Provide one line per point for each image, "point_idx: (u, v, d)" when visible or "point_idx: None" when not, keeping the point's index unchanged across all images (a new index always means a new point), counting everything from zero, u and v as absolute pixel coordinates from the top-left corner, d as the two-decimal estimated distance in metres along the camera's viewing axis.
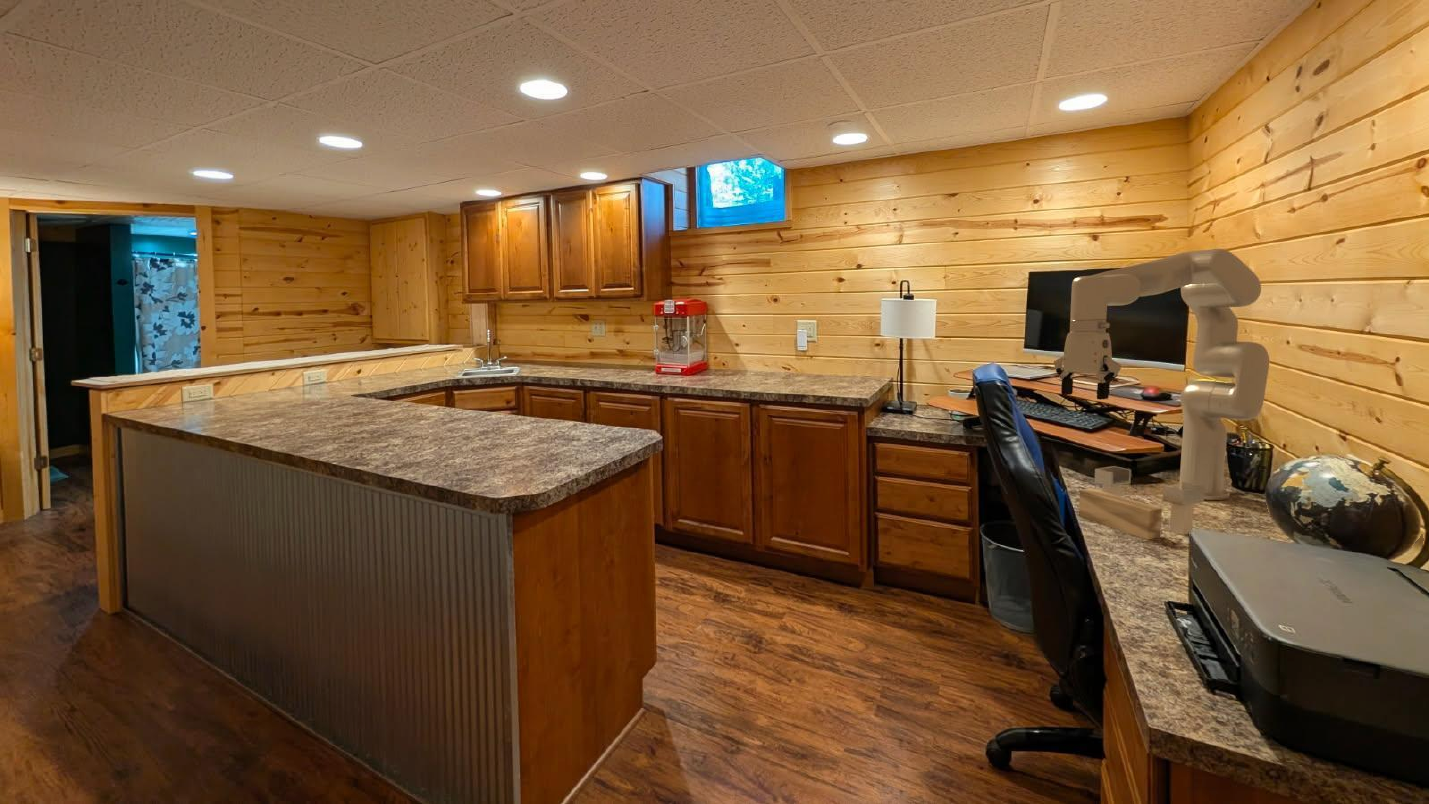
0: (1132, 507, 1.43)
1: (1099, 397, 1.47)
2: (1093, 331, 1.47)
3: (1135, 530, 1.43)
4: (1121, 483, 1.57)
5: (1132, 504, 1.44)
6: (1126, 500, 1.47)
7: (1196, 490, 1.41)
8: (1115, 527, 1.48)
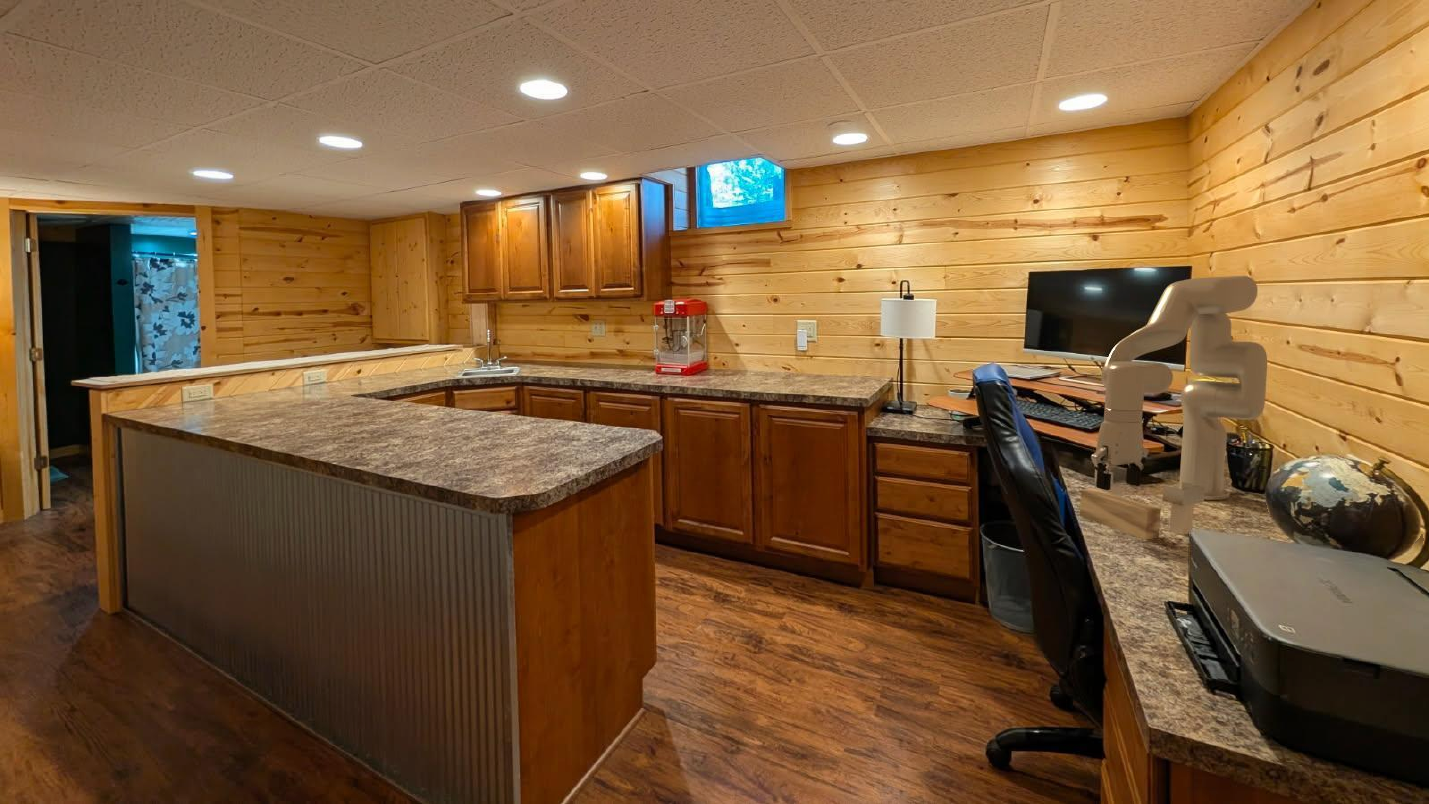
0: (1131, 507, 1.43)
1: None
2: None
3: (1133, 530, 1.43)
4: (1121, 483, 1.57)
5: (1131, 504, 1.44)
6: (1126, 500, 1.47)
7: (1196, 490, 1.41)
8: (1114, 527, 1.48)
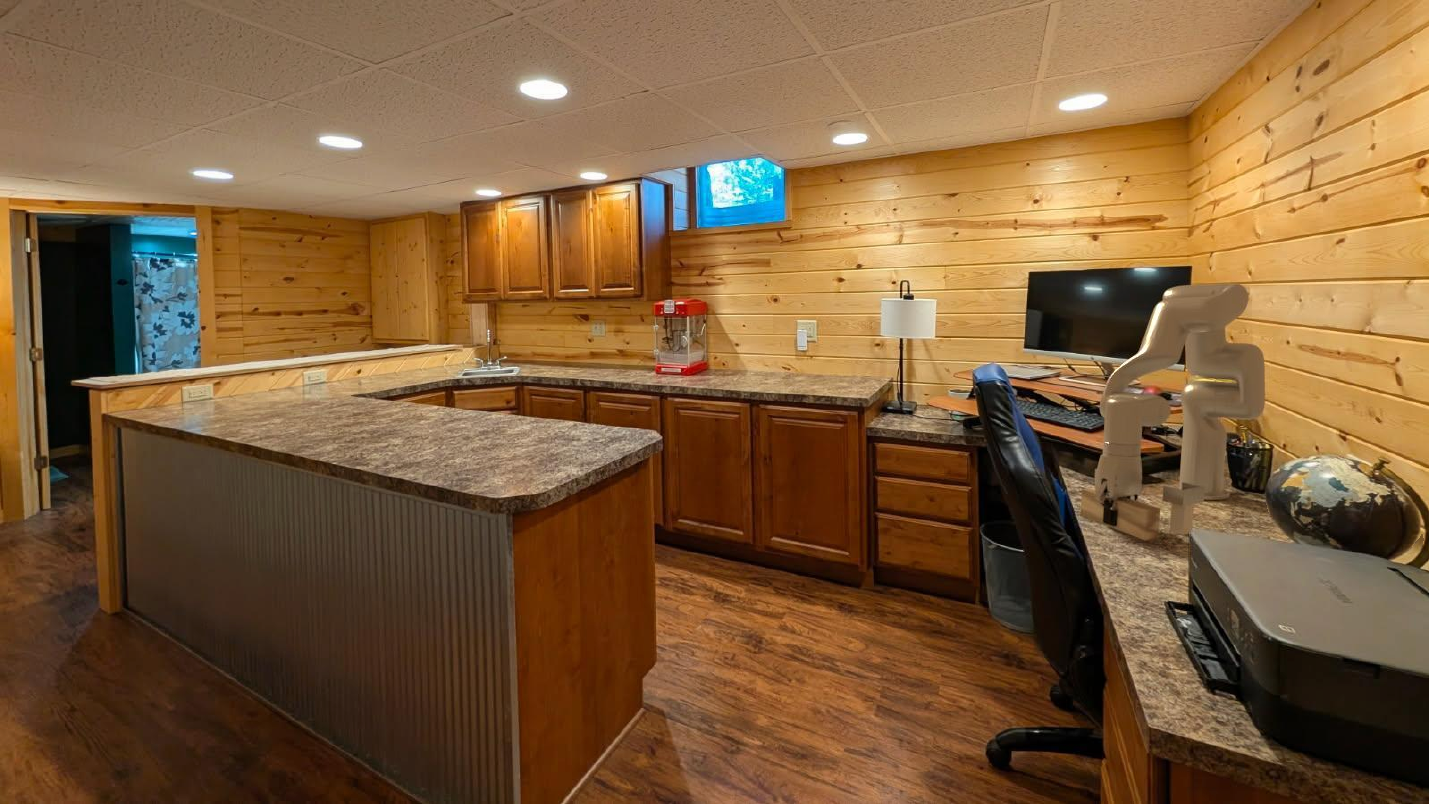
0: (1130, 506, 1.43)
1: None
2: None
3: (1133, 529, 1.43)
4: None
5: (1131, 504, 1.44)
6: (1126, 500, 1.47)
7: (1196, 490, 1.41)
8: (1114, 526, 1.48)
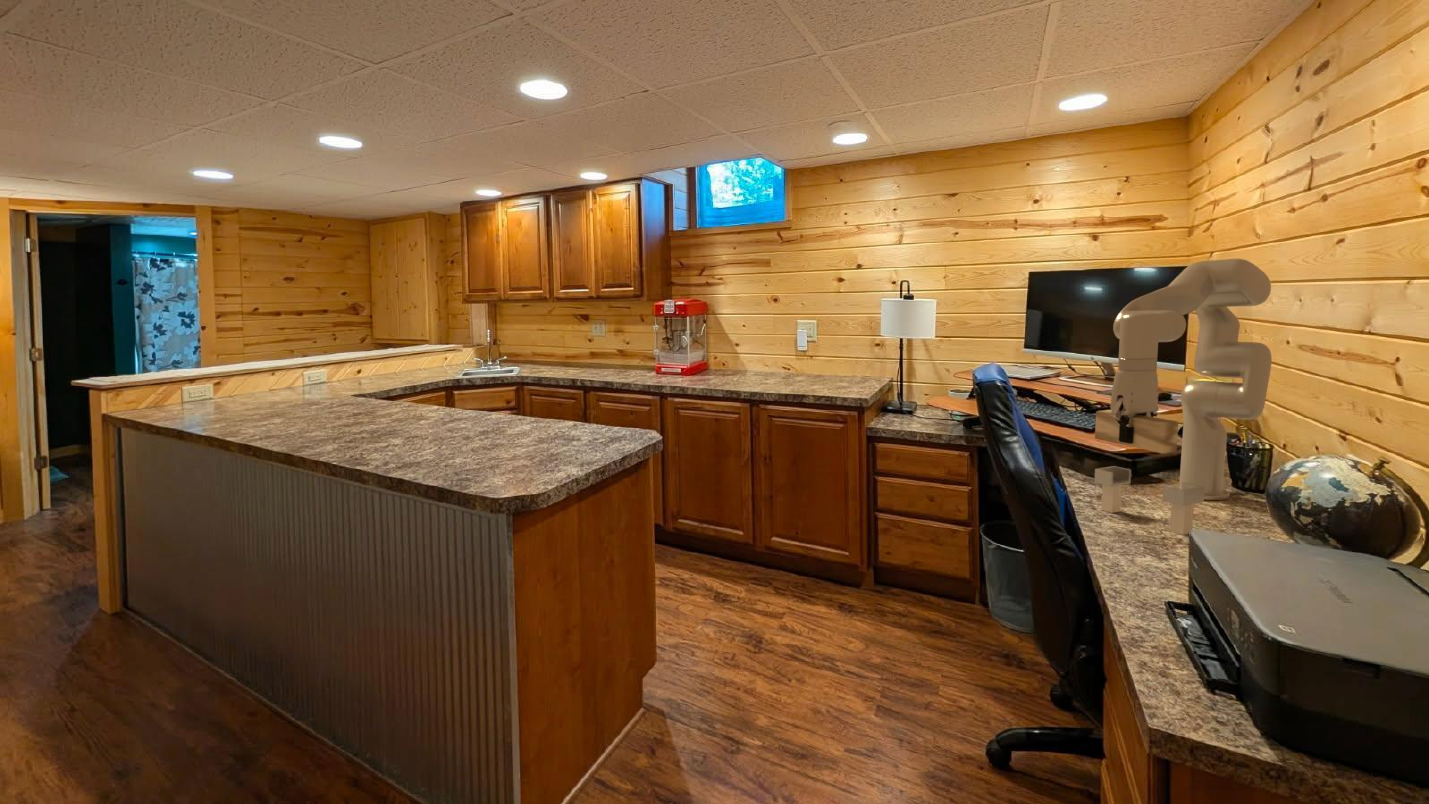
0: (1148, 421, 1.41)
1: None
2: None
3: (1150, 444, 1.41)
4: (1121, 483, 1.57)
5: (1148, 419, 1.42)
6: (1142, 416, 1.45)
7: (1196, 490, 1.41)
8: (1131, 444, 1.46)
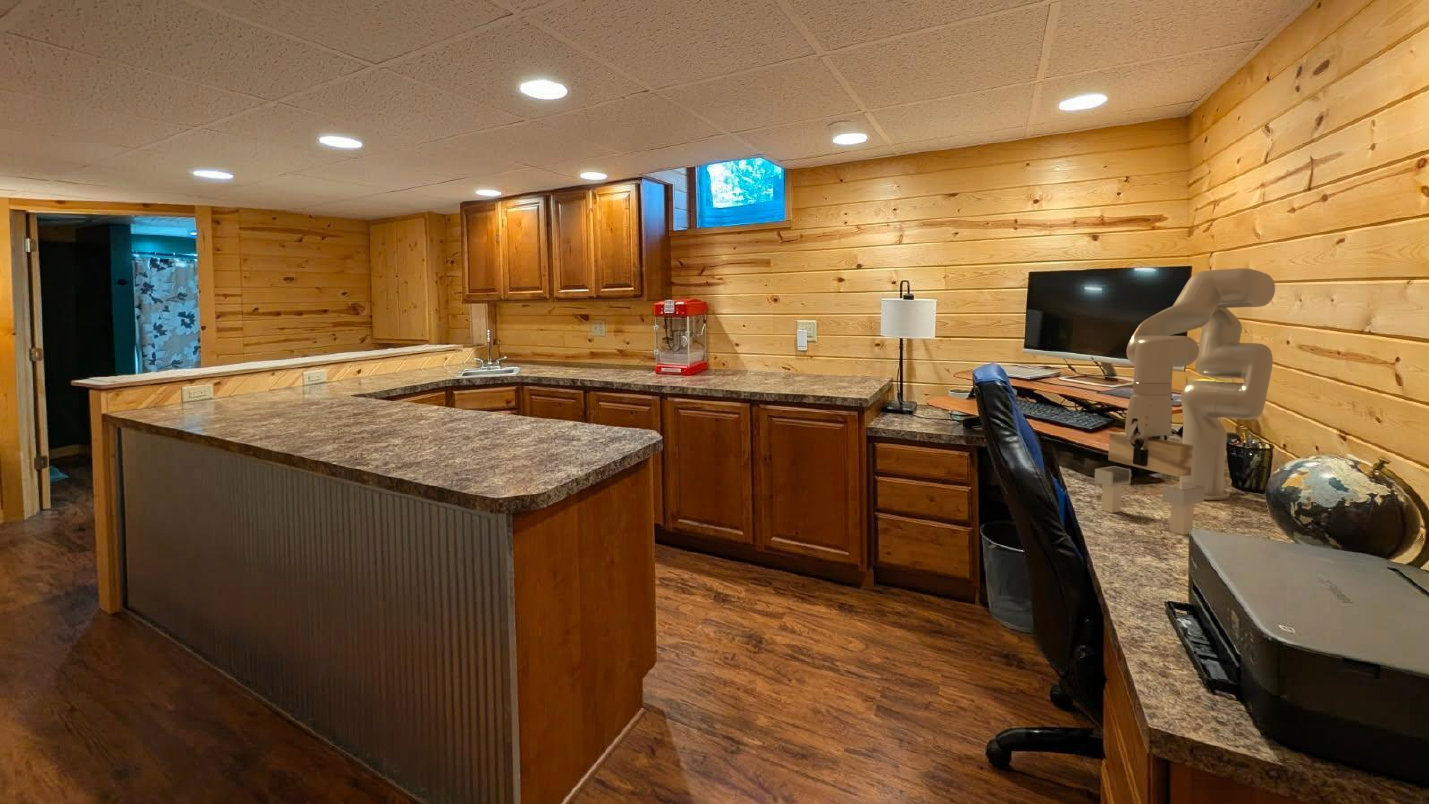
0: (1163, 444, 1.44)
1: None
2: None
3: (1165, 468, 1.44)
4: (1121, 483, 1.57)
5: (1163, 442, 1.45)
6: (1157, 440, 1.48)
7: (1196, 490, 1.41)
8: (1145, 467, 1.48)
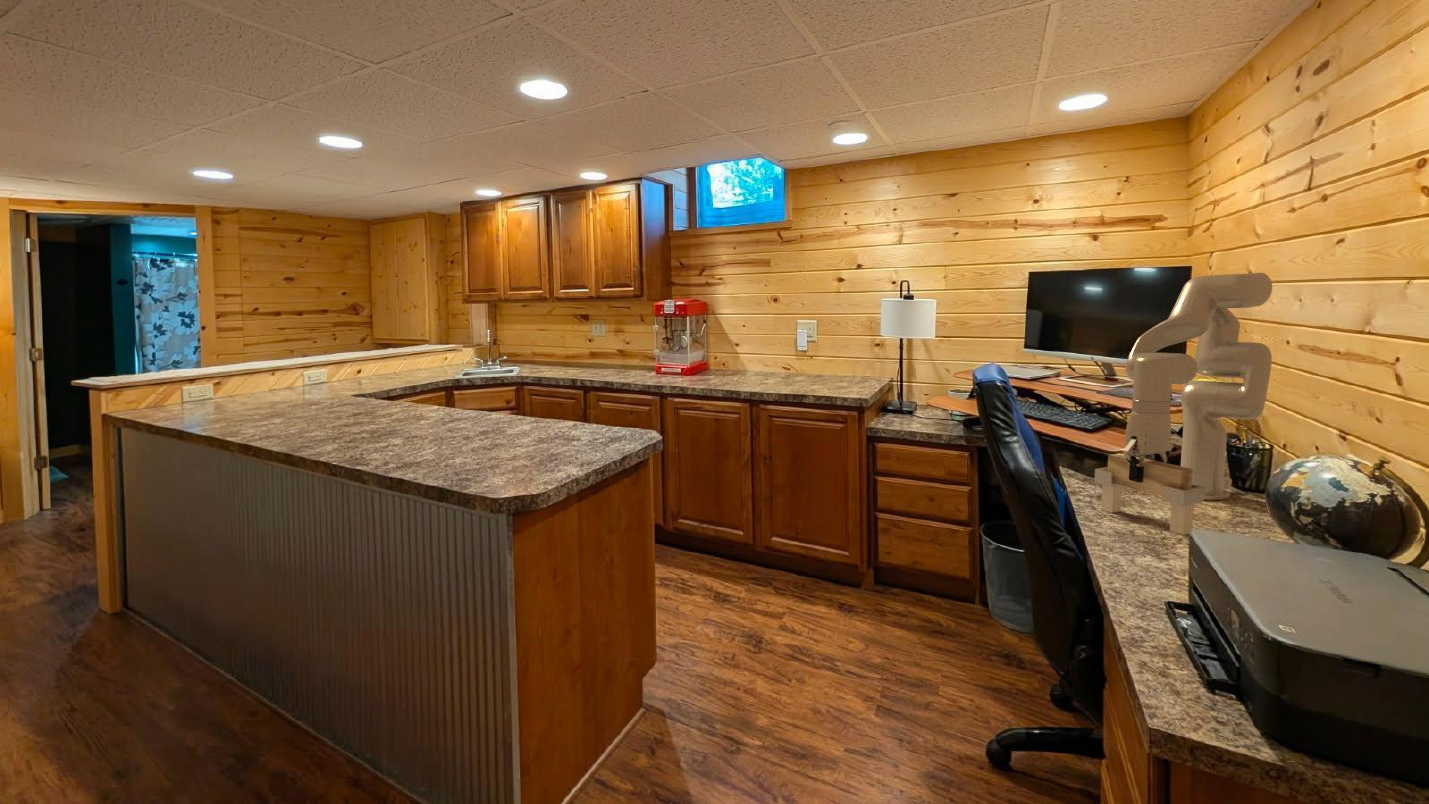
0: (1163, 468, 1.45)
1: None
2: None
3: None
4: None
5: (1163, 465, 1.46)
6: (1156, 462, 1.49)
7: (1196, 490, 1.41)
8: (1145, 489, 1.49)
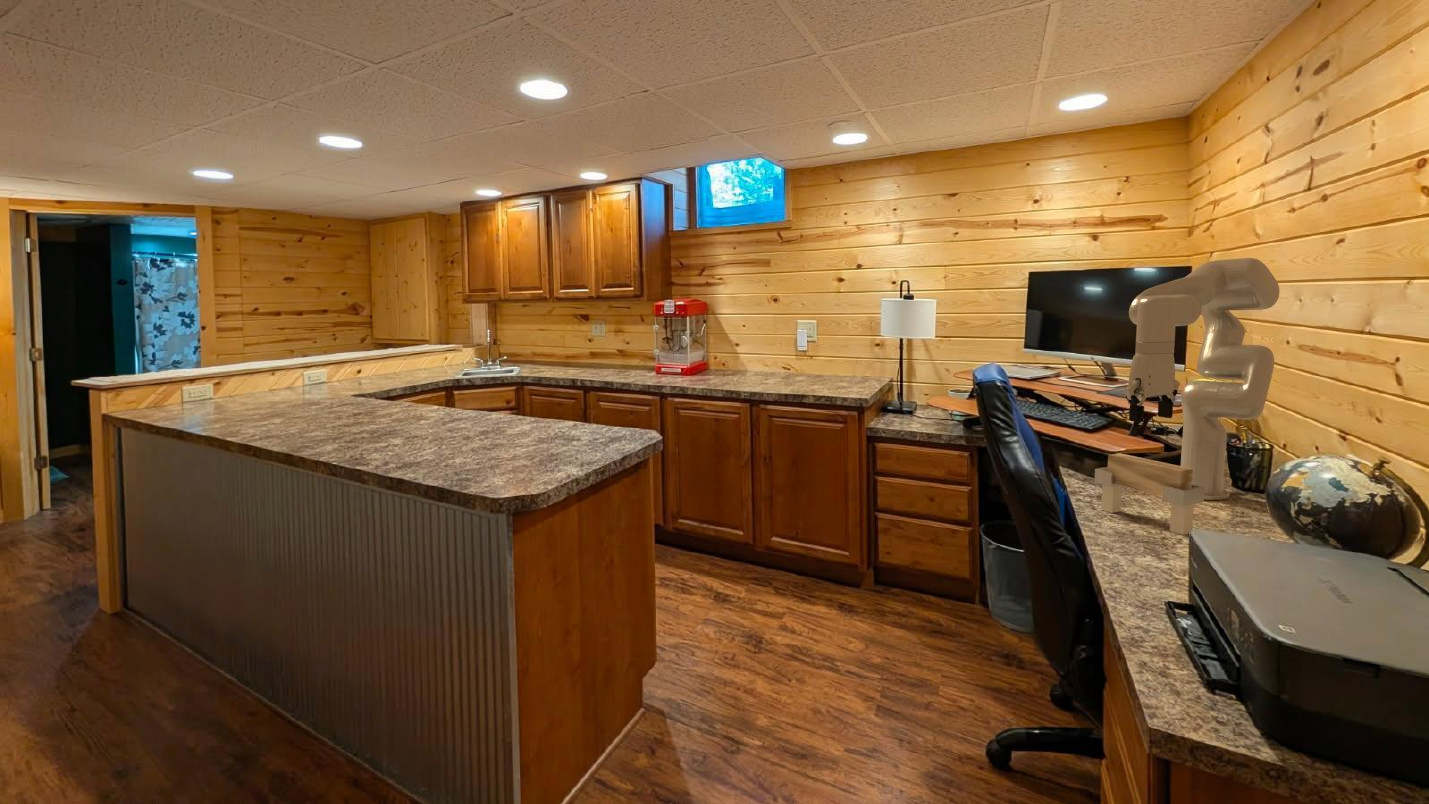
0: (1163, 468, 1.45)
1: None
2: None
3: None
4: None
5: (1163, 465, 1.46)
6: (1156, 462, 1.49)
7: (1196, 490, 1.41)
8: (1145, 489, 1.49)
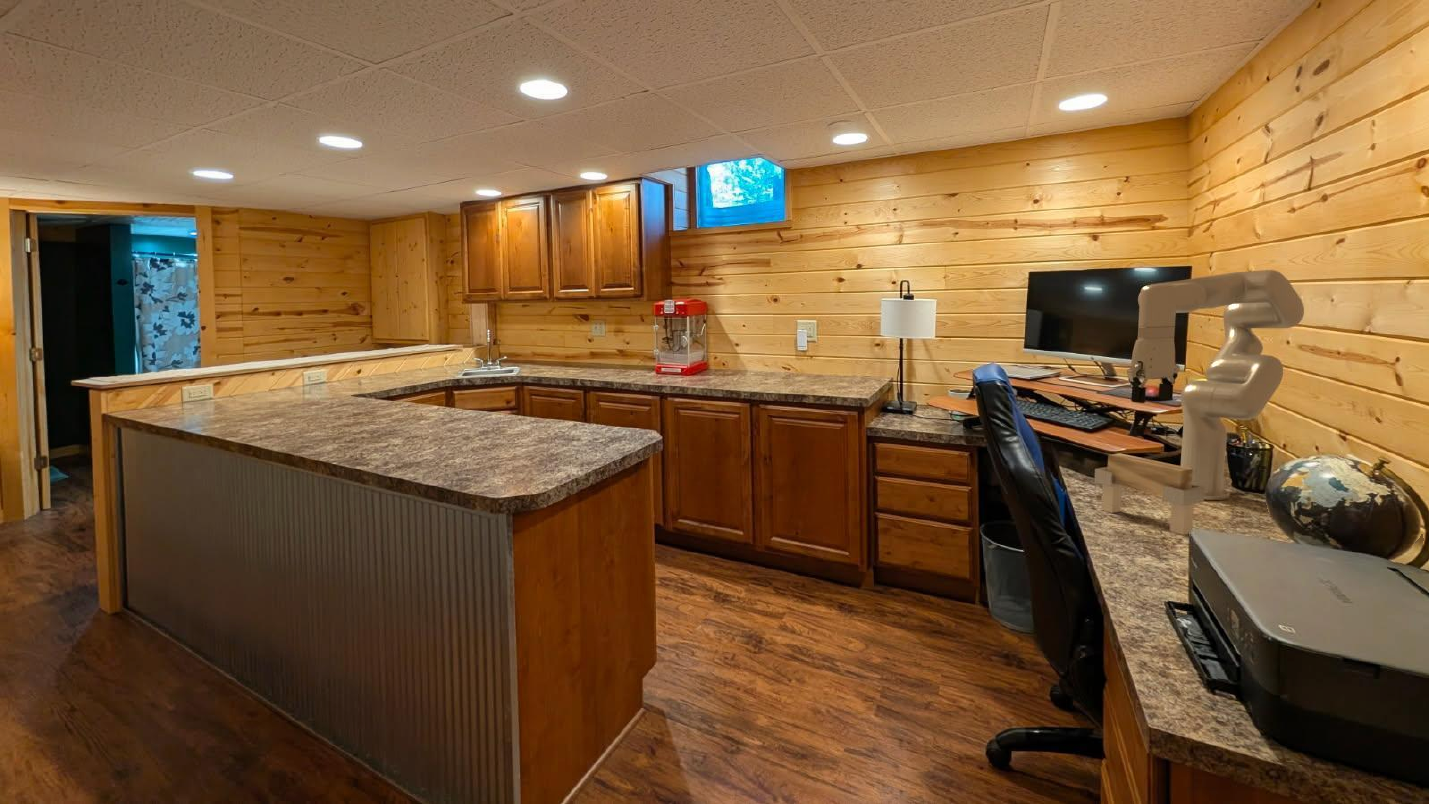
0: (1163, 468, 1.45)
1: None
2: None
3: None
4: None
5: (1163, 465, 1.46)
6: (1156, 462, 1.49)
7: (1196, 490, 1.41)
8: (1145, 489, 1.49)
